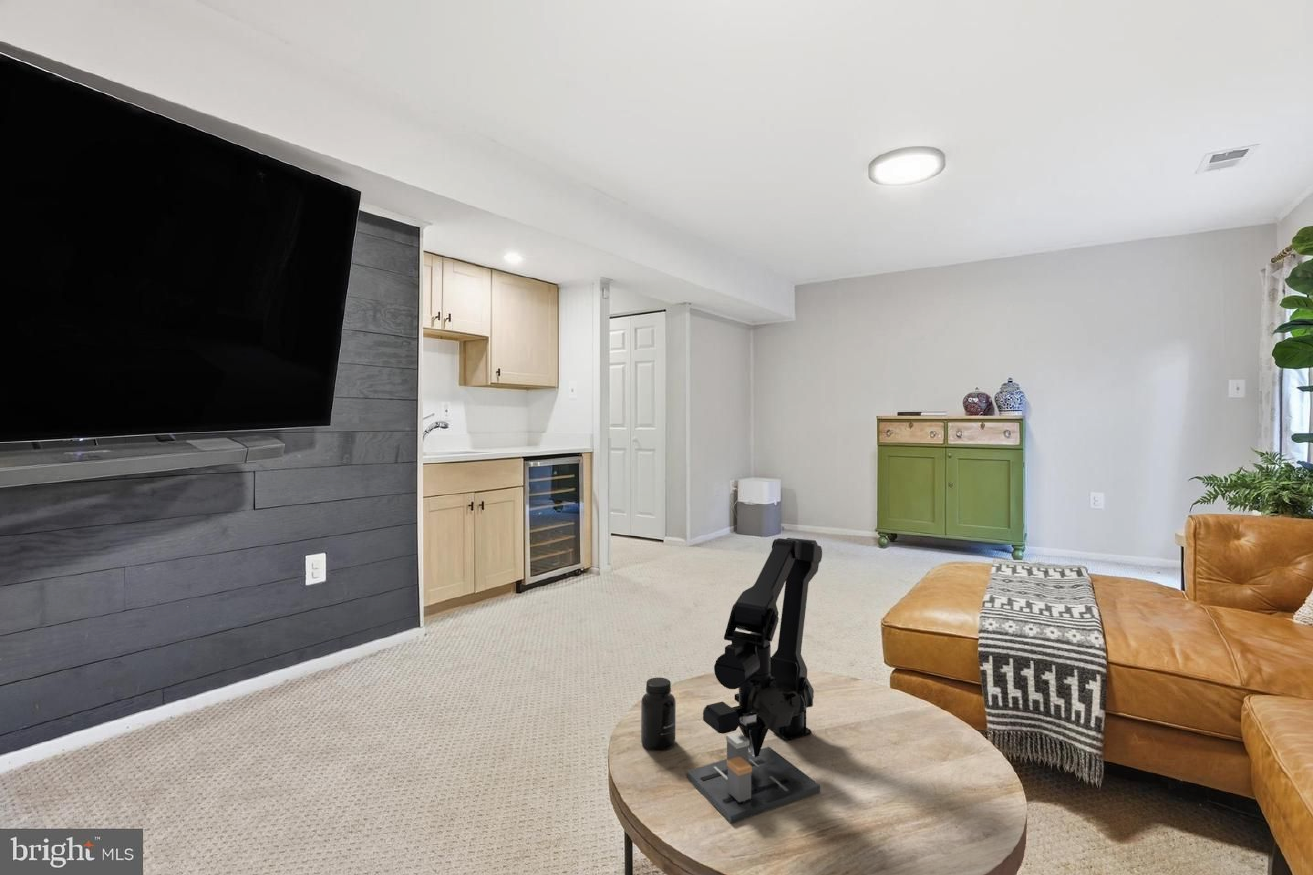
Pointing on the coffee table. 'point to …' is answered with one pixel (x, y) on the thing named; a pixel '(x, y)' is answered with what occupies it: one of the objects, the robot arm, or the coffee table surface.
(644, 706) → the supplement bottle
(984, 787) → the coffee table surface
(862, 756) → the coffee table surface
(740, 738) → the fader
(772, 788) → the board
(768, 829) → the coffee table surface
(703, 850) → the coffee table surface
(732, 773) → the fader
